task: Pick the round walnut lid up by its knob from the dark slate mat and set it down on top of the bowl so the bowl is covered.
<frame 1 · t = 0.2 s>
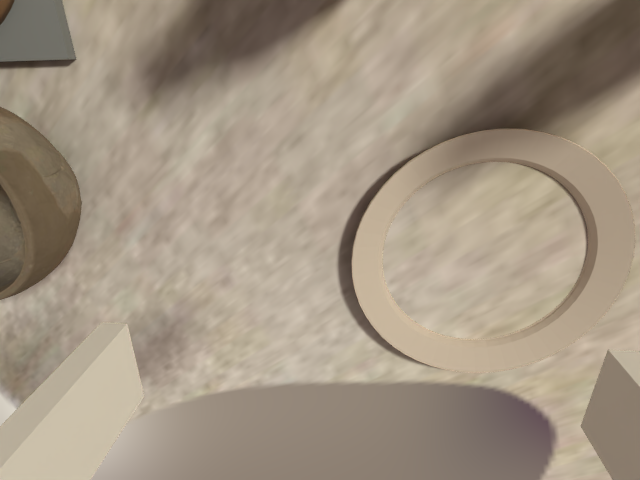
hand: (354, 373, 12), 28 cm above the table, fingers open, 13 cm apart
plate: (480, 257, 41), on the table
bowl: (23, 180, 41), on the table
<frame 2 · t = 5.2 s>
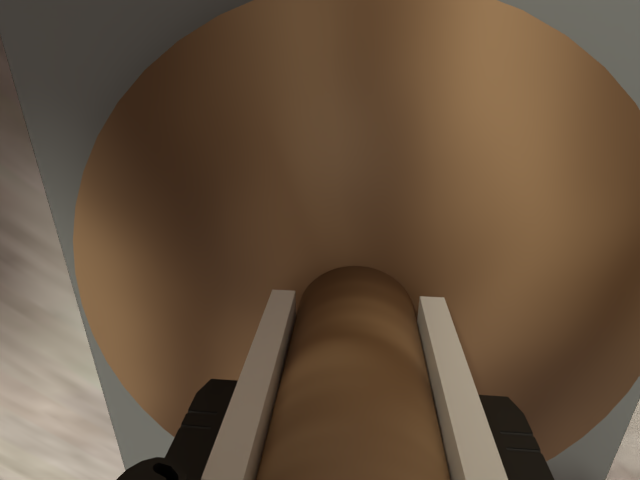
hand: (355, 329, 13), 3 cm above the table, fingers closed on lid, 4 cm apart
mat: (355, 287, 16), on the table
lid: (355, 301, 15), point 1 cm above the table, touching gripper, mat
when the fingers open (14 cm above the table, at t = 9.3 s): lid drops 2 cm, resting on bowl.
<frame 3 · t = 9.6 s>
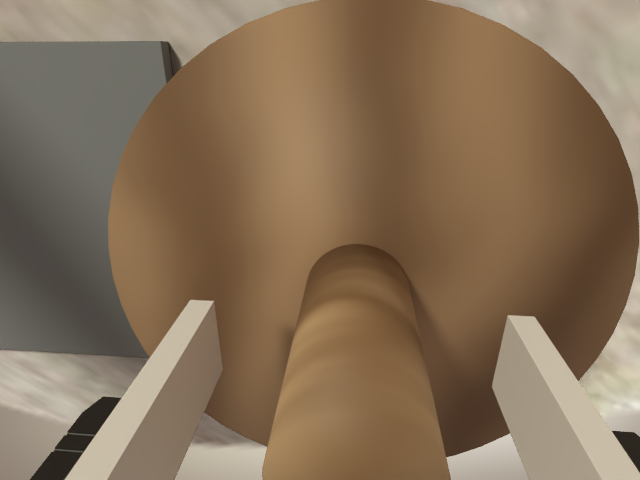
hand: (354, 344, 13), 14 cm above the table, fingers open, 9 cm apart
mat: (40, 217, 28), on the table
lid: (357, 277, 17), point 10 cm above the table, touching bowl
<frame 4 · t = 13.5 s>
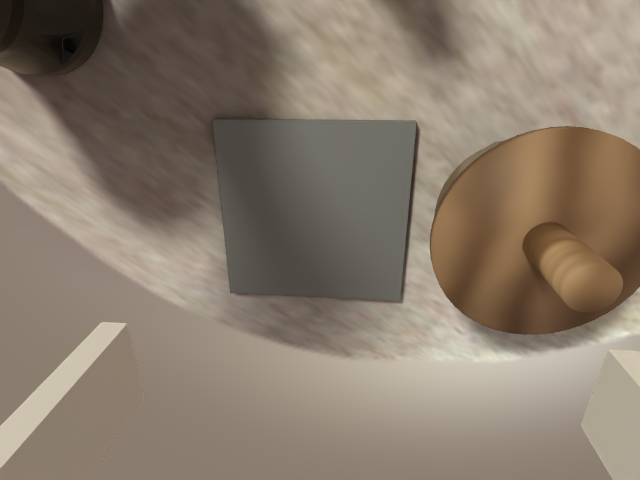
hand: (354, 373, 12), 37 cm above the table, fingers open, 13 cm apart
mat: (314, 214, 49), on the table
bowl: (504, 202, 47), on the table, touching lid
lid: (541, 238, 37), point 10 cm above the table, touching bowl
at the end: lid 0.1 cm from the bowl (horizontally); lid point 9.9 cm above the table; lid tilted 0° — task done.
